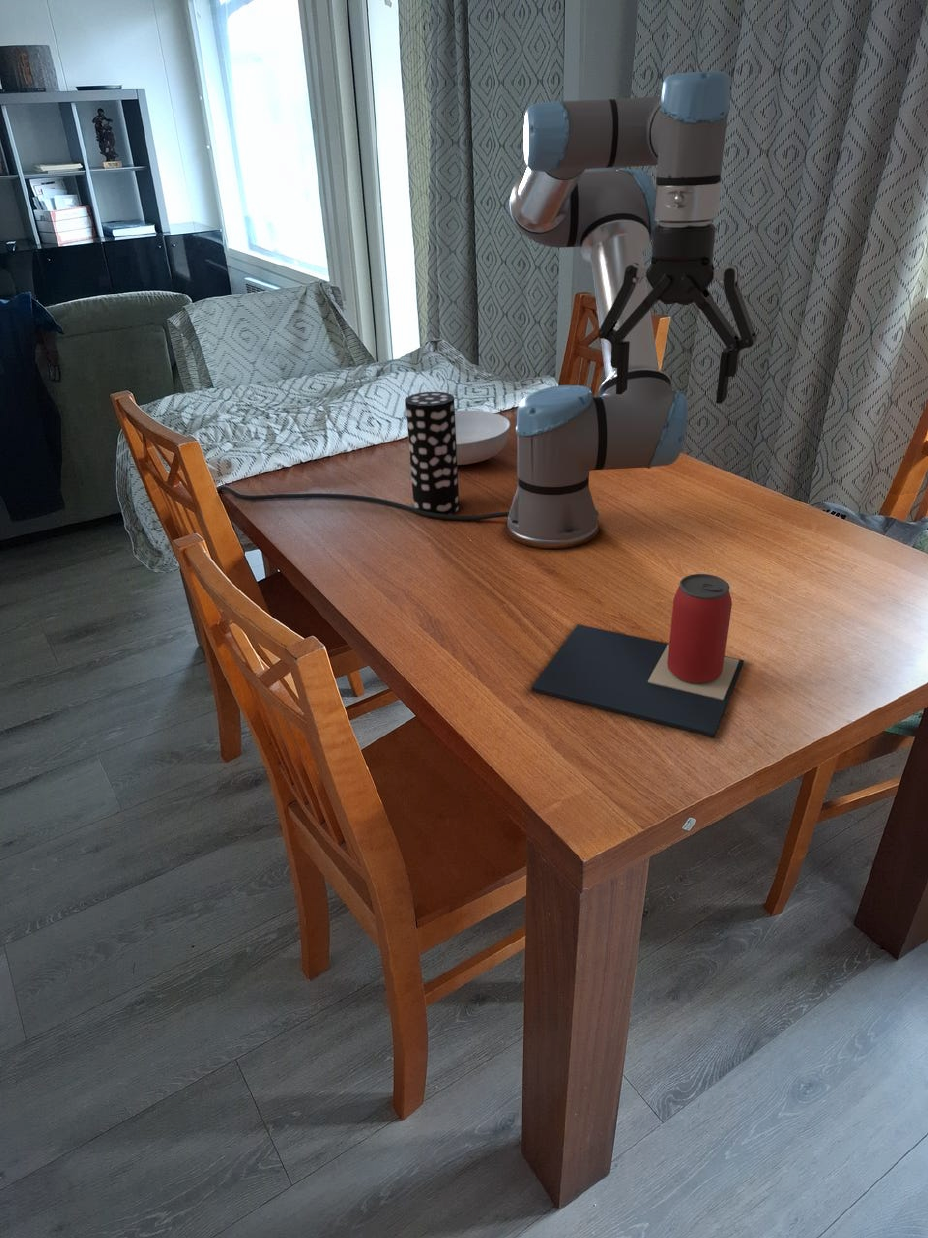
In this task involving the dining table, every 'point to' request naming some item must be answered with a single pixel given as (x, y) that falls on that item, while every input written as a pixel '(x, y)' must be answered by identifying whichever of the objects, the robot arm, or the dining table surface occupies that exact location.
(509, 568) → the dining table surface
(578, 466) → the robot arm
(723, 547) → the dining table surface
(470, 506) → the dining table surface
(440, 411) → the spotted tube
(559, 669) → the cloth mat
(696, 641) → the beer can
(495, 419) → the serving bowl
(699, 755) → the dining table surface
